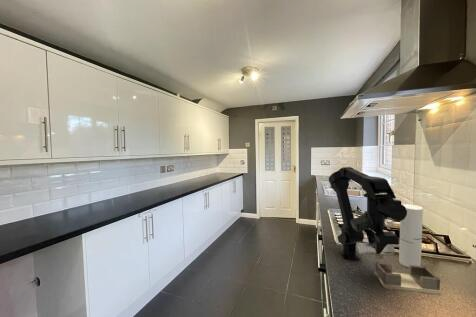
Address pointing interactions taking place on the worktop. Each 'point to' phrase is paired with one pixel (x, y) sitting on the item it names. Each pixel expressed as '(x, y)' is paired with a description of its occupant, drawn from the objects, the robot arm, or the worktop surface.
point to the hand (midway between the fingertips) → (375, 250)
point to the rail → (374, 249)
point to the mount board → (408, 284)
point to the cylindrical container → (411, 236)
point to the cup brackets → (416, 272)
